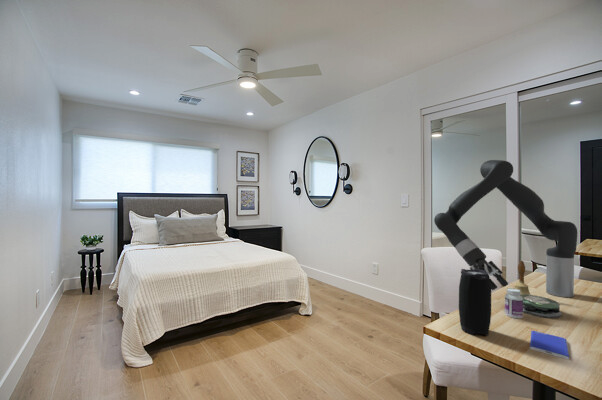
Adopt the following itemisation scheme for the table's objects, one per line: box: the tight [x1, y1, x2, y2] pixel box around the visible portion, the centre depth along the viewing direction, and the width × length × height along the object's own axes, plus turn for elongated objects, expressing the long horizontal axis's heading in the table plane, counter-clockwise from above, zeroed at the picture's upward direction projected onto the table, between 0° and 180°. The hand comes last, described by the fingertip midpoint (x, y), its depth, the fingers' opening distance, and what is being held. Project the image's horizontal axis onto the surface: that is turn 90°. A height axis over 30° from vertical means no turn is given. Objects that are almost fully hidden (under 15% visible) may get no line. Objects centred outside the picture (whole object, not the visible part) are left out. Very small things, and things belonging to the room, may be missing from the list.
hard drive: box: [529, 330, 570, 360], centre depth 82 cm, size 2×8×12 cm
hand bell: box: [514, 260, 532, 295], centre depth 123 cm, size 8×8×16 cm
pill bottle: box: [504, 287, 524, 319], centre depth 103 cm, size 5×5×10 cm
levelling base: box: [520, 294, 562, 319], centre depth 108 cm, size 14×14×4 cm
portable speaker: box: [458, 268, 492, 337], centre depth 91 cm, size 9×9×20 cm
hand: (500, 287), depth 107 cm, fingers open, 8 cm apart
